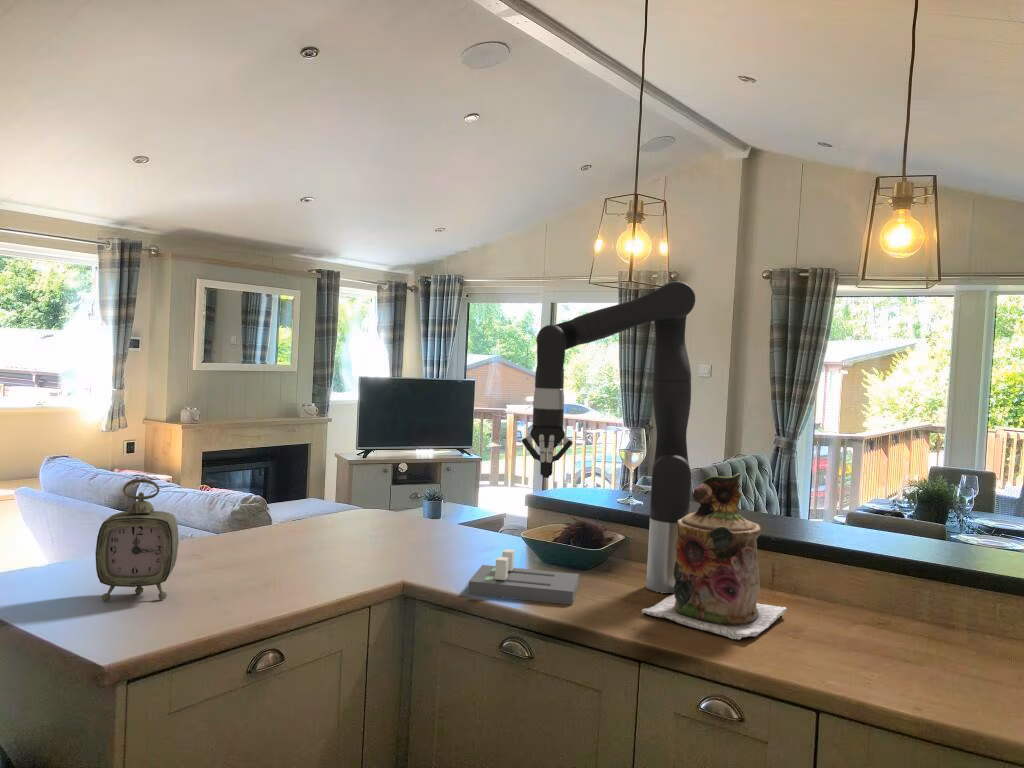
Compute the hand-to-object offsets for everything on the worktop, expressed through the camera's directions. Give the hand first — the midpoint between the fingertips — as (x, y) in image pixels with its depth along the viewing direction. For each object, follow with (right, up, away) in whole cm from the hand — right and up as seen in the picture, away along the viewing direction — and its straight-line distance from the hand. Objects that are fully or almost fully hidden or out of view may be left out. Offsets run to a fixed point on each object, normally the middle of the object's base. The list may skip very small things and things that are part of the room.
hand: (546, 477), depth 183 cm
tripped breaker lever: (-11, -22, -10) cm, 27 cm away
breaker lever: (-9, -22, -2) cm, 24 cm away
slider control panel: (-5, -26, -7) cm, 27 cm away
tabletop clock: (-88, -22, -25) cm, 94 cm away
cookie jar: (+36, -29, -19) cm, 50 cm away
